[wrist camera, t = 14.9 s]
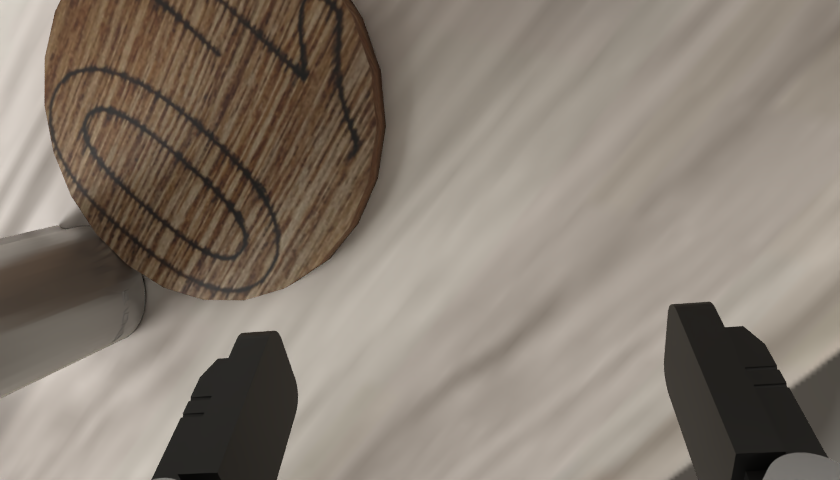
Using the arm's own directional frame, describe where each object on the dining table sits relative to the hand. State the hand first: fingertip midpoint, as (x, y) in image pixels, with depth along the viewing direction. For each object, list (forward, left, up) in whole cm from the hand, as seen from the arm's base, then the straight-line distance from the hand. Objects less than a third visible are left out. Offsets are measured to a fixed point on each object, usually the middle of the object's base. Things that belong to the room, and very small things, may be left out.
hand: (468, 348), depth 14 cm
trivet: (-24, -5, -26) cm, 35 cm away
